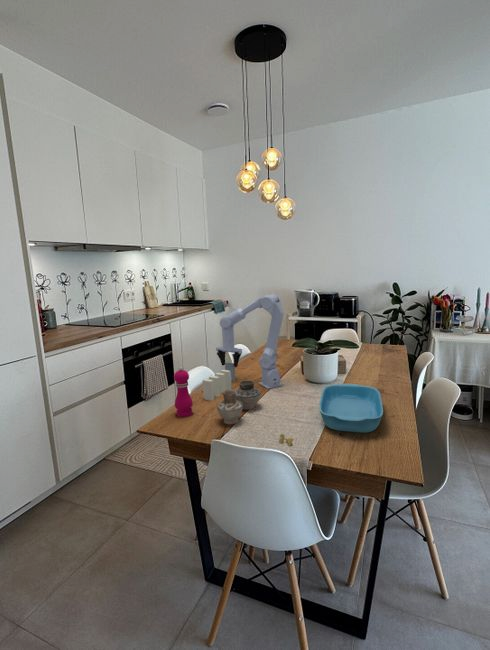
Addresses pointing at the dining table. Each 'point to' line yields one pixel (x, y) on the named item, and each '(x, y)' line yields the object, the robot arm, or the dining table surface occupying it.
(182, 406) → the pepper mill
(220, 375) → the tile
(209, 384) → the ivory tile
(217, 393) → the ivory tile
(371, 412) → the casserole dish
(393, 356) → the dining table surface
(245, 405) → the pottery
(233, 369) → the slate tile
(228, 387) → the ivory tile
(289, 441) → the olive bow shape
